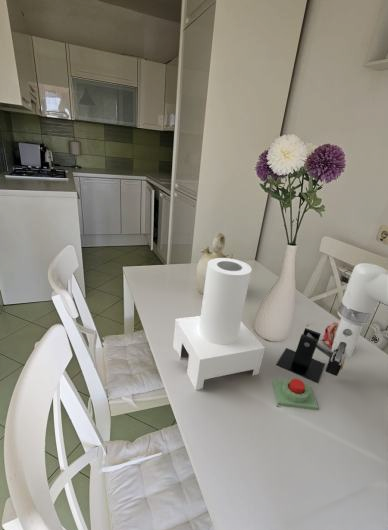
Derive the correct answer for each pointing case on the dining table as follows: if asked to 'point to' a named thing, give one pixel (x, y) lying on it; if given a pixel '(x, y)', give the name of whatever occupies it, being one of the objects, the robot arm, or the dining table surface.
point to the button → (297, 386)
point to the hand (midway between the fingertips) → (333, 367)
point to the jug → (208, 256)
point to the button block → (293, 395)
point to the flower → (330, 334)
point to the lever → (324, 349)
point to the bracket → (303, 358)
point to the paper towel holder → (220, 326)
